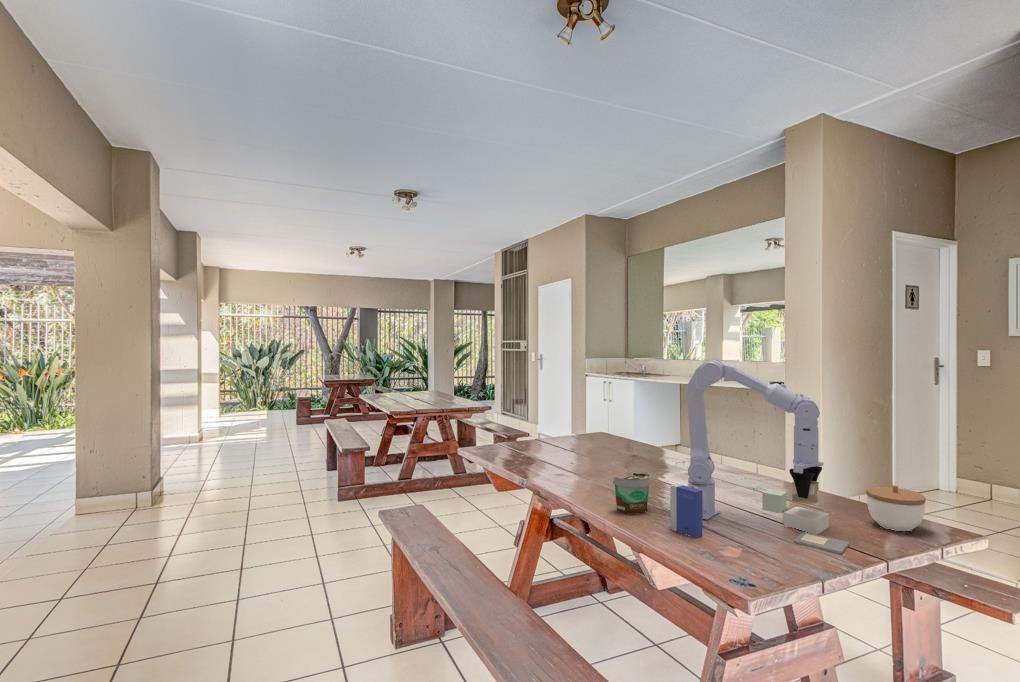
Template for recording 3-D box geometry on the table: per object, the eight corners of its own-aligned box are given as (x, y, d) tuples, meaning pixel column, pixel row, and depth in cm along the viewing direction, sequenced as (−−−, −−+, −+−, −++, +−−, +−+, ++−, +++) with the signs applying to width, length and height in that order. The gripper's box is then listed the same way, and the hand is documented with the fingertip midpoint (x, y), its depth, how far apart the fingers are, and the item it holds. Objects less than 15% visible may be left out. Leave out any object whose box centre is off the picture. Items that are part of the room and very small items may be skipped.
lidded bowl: (928, 527, 138) (928, 485, 138) (921, 540, 129) (921, 495, 129) (871, 516, 147) (871, 476, 147) (861, 527, 138) (861, 485, 138)
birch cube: (813, 505, 135) (813, 485, 135) (792, 501, 139) (792, 482, 139) (818, 500, 139) (818, 482, 139) (797, 496, 142) (797, 478, 142)
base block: (816, 536, 133) (816, 520, 133) (783, 527, 139) (783, 512, 139) (828, 528, 138) (828, 513, 138) (796, 520, 144) (796, 506, 144)
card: (841, 554, 121) (841, 551, 121) (793, 542, 128) (793, 539, 128) (849, 544, 127) (849, 541, 127) (803, 533, 134) (803, 531, 134)
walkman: (702, 536, 132) (702, 488, 132) (695, 538, 131) (695, 490, 131) (676, 527, 139) (676, 482, 139) (669, 529, 137) (669, 483, 137)
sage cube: (780, 513, 150) (780, 495, 150) (762, 509, 153) (762, 492, 153) (786, 509, 154) (786, 492, 154) (768, 505, 157) (768, 488, 157)
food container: (625, 517, 146) (625, 482, 146) (612, 511, 152) (612, 476, 152) (660, 511, 151) (660, 477, 151) (647, 505, 157) (646, 472, 157)
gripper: (815, 450, 131) (815, 504, 131) (830, 442, 141) (830, 492, 141) (784, 446, 136) (784, 498, 136) (801, 438, 146) (801, 487, 146)
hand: (806, 495), depth 139 cm, fingers closed on birch cube, 5 cm apart
